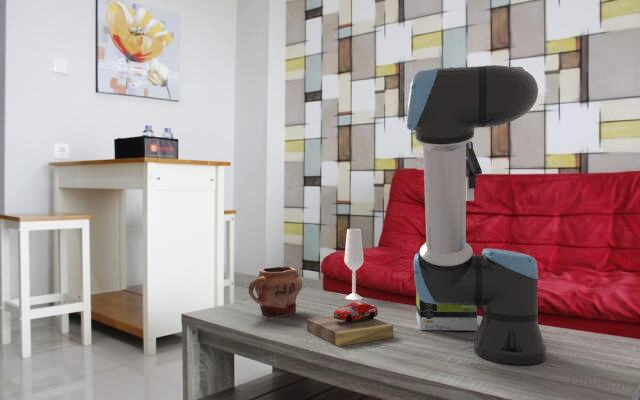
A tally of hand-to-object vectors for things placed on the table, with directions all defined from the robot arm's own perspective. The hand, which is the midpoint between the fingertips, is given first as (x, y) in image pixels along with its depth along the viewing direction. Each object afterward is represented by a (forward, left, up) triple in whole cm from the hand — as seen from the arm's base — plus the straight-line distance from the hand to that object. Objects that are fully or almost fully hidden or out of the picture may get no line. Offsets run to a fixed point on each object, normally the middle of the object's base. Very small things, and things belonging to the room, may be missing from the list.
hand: (451, 200), depth 147 cm
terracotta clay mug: (+29, +42, -34) cm, 62 cm away
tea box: (-5, +7, -34) cm, 35 cm away
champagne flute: (+39, +8, -34) cm, 53 cm away
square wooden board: (+1, +34, -34) cm, 48 cm away
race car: (0, +35, -33) cm, 48 cm away
